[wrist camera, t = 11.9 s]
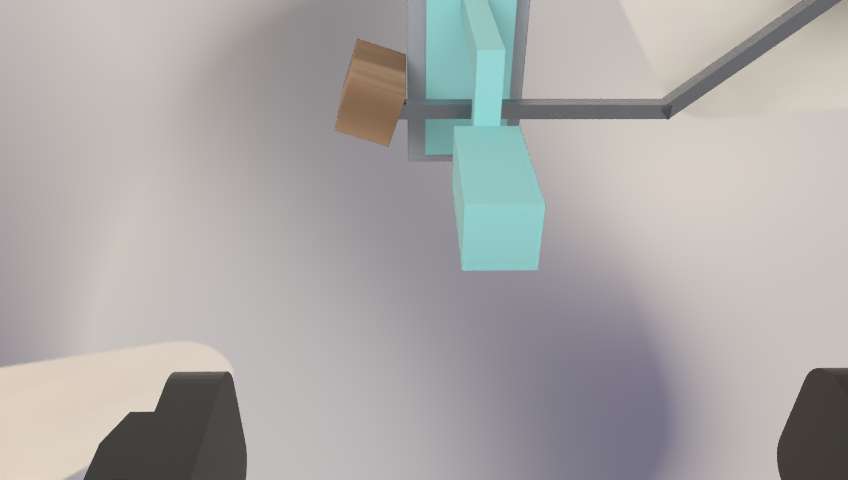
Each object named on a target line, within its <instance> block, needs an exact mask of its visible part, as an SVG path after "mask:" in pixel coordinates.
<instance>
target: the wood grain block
mask: <svg viewBox="0 0 848 480" xmlns="http://www.w3.org/2000/svg"><path fill="white" fill-rule="evenodd" d="M405 97H406V55H405V54H403V53H400V52H397V51H394V50H391V49H388V48H384V47H381V46H378V45H375V44H372V43H369V42H366V41H363V40H360V39H357V41H356V44H355V48H354V51H353V55H352V58H351V62H350V65H349V68H348V72H347V75H346V79H345V83H344V86H343V91H342V96H341V101H340V106H339V111H338V116H337V121H336V126H335V131H338V132H342V133H345V134H348V135H352V136H355V137H358V138H362V139H365V140H369V141H372V142H375V143H378V144H382V145H386V146H389V144H390V141H391V138H392V135H393V132H394V129H395V126H396V123H397V121H398V118H399V115H400V112H401V109H402V106H403V103H404V100H405Z"/></svg>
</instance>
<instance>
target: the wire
mask: <svg viewBox="0 0 848 480" xmlns="http://www.w3.org/2000/svg"><path fill="white" fill-rule="evenodd" d="M840 1H841V0H802V1H801V2H800V3H798V4H797V5H795V6H794V7H792V8H791V9H790V10H788V11H787V12H785V13H784V14H782V15H781V16H780V17H778V18H777V19H775V20H774V21H772V22H771V23H770V24H768V25H767V26H765V27H764V28H762V29H761V30H760V31H758V32H757V33H755V34H754V35H752V36H751V37H750V38H748V39H747V40H745V41H744V42H742V43H741V44H740V45H738V46H737V47H735V48H734V49H732V50H731V51H730V52H728V53H727V54H725V55H724V56H722V57H721V58H719V59H718V60H717V61H715V62H714V63H712V64H711V65H709V66H708V67H707V68H705V69H704V70H702V71H701V72H699V73H698V74H697V75H695V76H694V77H692V78H691V79H689V80H688V81H687V82H685V83H684V84H682V85H681V86H679V87H678V88H677V89H675V90H674V91H672V92H671V93H669V94H668V95H667V96H665V97H664V98H662V99H502V106H501V119H670V117H672V116H674V115H675V114H676V113H678V112H679V111H681V110H682V109H684V108H685V107H687V106H688V105H690V104H691V103H693V102H694V101H695V100H697V99H698V98H700V97H701V96H703V95H704V94H706V93H707V92H709V91H710V90H712V89H713V88H714V87H716V86H717V85H719V84H720V83H722V82H723V81H725V80H726V79H728V78H729V77H730V76H732V75H733V74H735V73H736V72H738V71H739V70H741V69H742V68H744V67H745V66H747V65H748V64H749V63H751V62H752V61H754V60H755V59H757V58H758V57H760V56H761V55H763V54H764V53H765V52H767V51H768V50H770V49H771V48H773V47H774V46H776V45H777V44H779V43H780V42H781V41H783V40H784V39H786V38H787V37H789V36H790V35H792V34H793V33H795V32H796V31H798V30H799V29H800V28H802V27H803V26H805V25H806V24H808V23H809V22H811V21H812V20H814V19H815V18H816V17H818V16H819V15H821V14H822V13H824V12H825V11H827V10H828V9H830V8H831V7H832V6H834V5H835V4H837V3H838V2H840ZM471 117H472V99H405V100H404V103H403V106H402V109H401V112H400V115H399V118H398V119H471Z"/></svg>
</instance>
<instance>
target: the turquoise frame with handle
mask: <svg viewBox="0 0 848 480" xmlns="http://www.w3.org/2000/svg"><path fill="white" fill-rule="evenodd" d="M516 8H517V0H426V65H425V99H472V117H471V119H425V155H440V154H453V170H452V189H453V197H454V207H455V215H456V224H457V233H458V242H459V250H460V259H461V268H462V271H477V270H478V271H487V270H488V271H489V270H538V265H539V255H540V248H541V239H542V230H543V222H544V213H545V205H546V204H545V201H544V198H543V195H542V192H541V189H540V186H539V183H538V180H537V177H536V174H535V171H534V168H533V165H532V161H531V158H530V155H529V153H528V149H527V146H526V143H525V140H524V137H523V134H522V131H521V128H520V126H507V124H508V119H501V106H502V99H509V98H510V85H511V72H512V59H513V46H514V33H515V21H516Z"/></svg>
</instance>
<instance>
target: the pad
mask: <svg viewBox="0 0 848 480" xmlns="http://www.w3.org/2000/svg"><path fill="white" fill-rule="evenodd" d="M529 8H530V0H517V8H516V21H515V33H514V46H513V59H512V72H511V85H510V98H509V99H521V98H522V86H523V75H524V64H525V53H526V41H527V30H528V20H529ZM407 28H408V29H407V39H408V41H407V44H408V46H407V49H408V50H407V52H408V99H425V65H426V0H407ZM519 120H520V119H508V124H507V126H519ZM408 161H453V154H440V155H425V119H408Z"/></svg>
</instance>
